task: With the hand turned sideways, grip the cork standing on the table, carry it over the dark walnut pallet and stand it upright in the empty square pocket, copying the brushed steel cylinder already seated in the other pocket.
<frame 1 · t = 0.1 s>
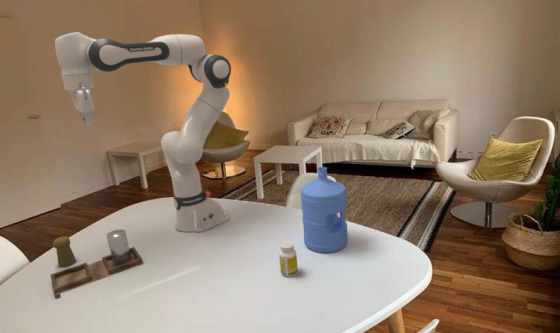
hand: (88, 124, 133), 48 cm above the table, tool pointing down, fingers open, 8 cm apart
supplement bottle: (289, 273, 123), on the table
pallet: (98, 273, 131), on the table
steel cylinder: (122, 261, 135), point 1 cm above the table, touching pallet
cork: (68, 266, 138), on the table
water jug: (325, 243, 139), on the table
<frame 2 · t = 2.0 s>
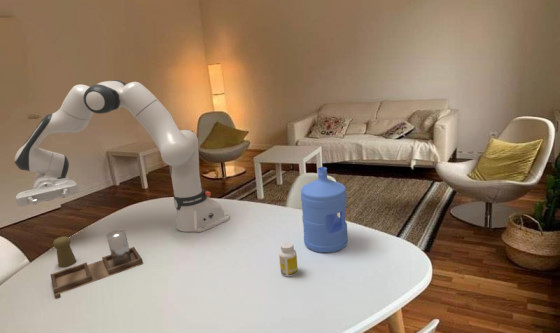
hand: (49, 199, 141), 22 cm above the table, tool horizontal, fingers open, 8 cm apart
nothing on the table moved.
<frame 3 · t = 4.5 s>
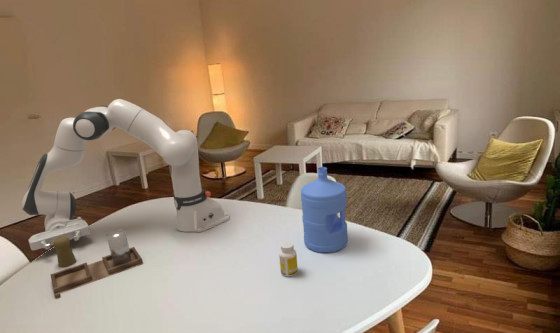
hand: (62, 242, 143), 6 cm above the table, tool horizontal, fingers open, 8 cm apart
nothing on the table moved.
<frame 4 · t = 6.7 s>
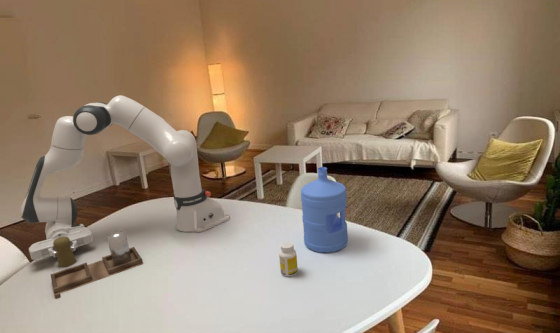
hand: (64, 252, 135), 6 cm above the table, tool horizontal, fingers closed on cork, 4 cm apart
cork: (68, 266, 138), on the table, touching gripper
everything else where it was.
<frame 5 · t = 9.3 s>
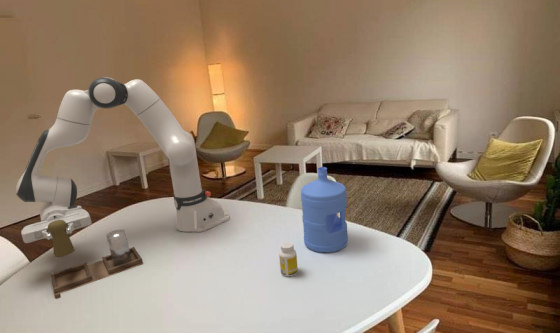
hand: (59, 234, 124), 17 cm above the table, tool horizontal, fingers closed on cork, 4 cm apart
cork: (64, 252, 127), point 10 cm above the table, touching gripper
everything else where it was.
when the fingers open (8 cm above the table, at t = 12.1 s): cork stays where it is, resting on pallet.
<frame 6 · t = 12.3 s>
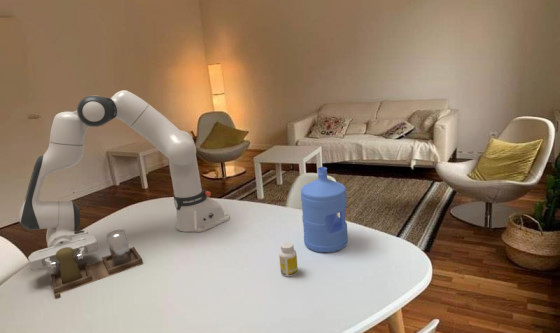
hand: (67, 261, 124), 8 cm above the table, tool horizontal, fingers open, 6 cm apart
cork: (72, 279, 127), point 1 cm above the table, touching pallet
everything else where it was.
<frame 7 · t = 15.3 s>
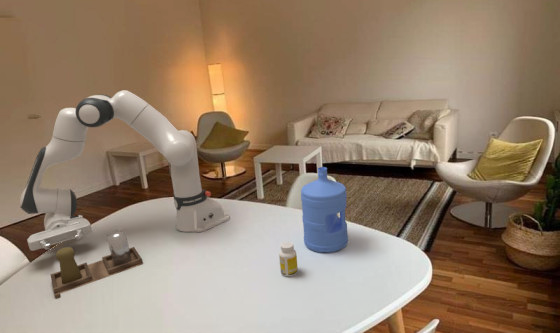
hand: (63, 242, 135), 10 cm above the table, tool horizontal, fingers open, 8 cm apart
nothing on the table moved.
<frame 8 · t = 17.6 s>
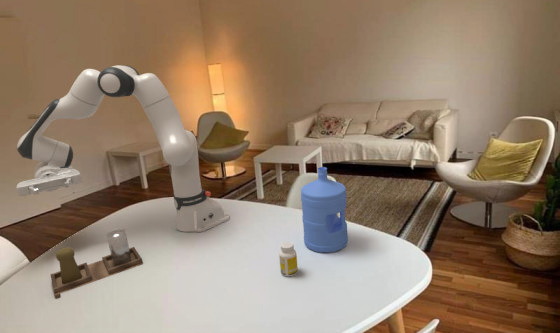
hand: (51, 188, 134), 28 cm above the table, tool horizontal, fingers open, 8 cm apart
nothing on the table moved.
at the end: cork 0.1 cm from the target spot on the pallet, point 1.0 cm above the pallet's base; cork tilted 0°; the gripper is holding nothing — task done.
